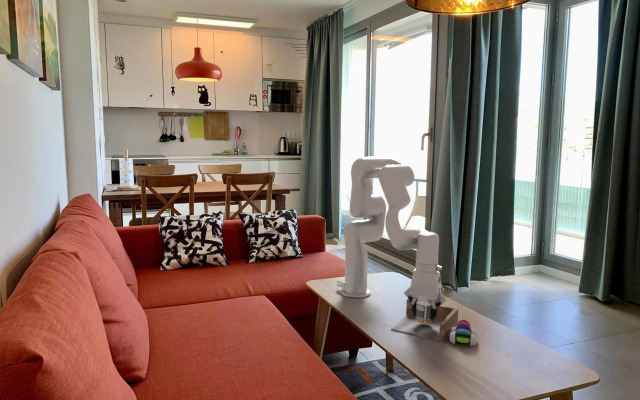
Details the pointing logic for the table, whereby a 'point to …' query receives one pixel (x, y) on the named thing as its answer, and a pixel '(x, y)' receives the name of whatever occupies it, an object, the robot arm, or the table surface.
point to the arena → (435, 329)
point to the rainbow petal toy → (463, 333)
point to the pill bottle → (423, 310)
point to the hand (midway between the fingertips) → (424, 316)
